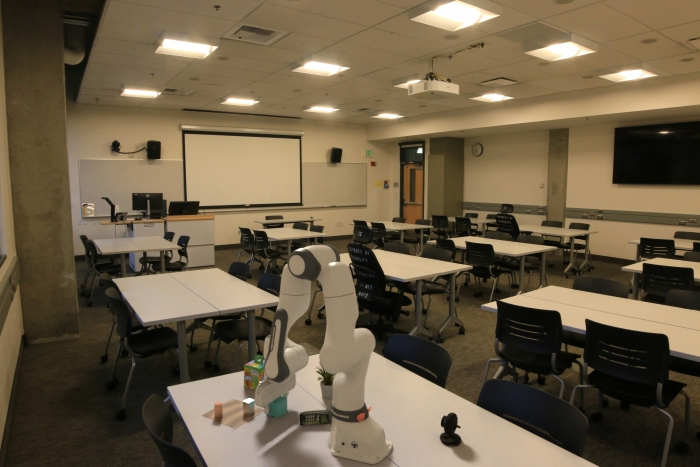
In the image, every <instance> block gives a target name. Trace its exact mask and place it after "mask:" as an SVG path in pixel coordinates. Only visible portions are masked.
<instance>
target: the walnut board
mask: <svg viewBox="0 0 700 467" xmlns="http://www.w3.org/2000/svg"><path fill="white" fill-rule="evenodd" d="M222 408H223V416H222V417H221V418H215V414H214V408H213V409H211V410H209V411H208V412H205V413H204V414H202V415H201V416H202V417H205V418H207V419H210V420H212V421H214V422H217V423H219V424H222V425H224V426H227V427H229V428H232V429H235V430H236V429H238V428H239V427H240V426H243V425H244V424H246V423H247V422H249V421H251V420H252V419H254V418H255V417H257V416H259V415H260V414H262V413H263V412H264V413H265V409H264V408H262V407H259V406H256V405H254V413H252V414H251V415H246V414H243V401H241V400H239V399H236V398H231V399H230V400H228V401H225V402H224V403H222Z"/></svg>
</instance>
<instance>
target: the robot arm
mask: <svg viewBox="0 0 700 467" xmlns="http://www.w3.org/2000/svg"><path fill="white" fill-rule="evenodd" d="M280 278H281V279H280V288H279V289H280V290H279V301H278V305H277V307H276V310H275V312H274V314H273V318H272V322H271V328H270V334H268V335H267V336H266V337H265V339H264V343H263V344H264V345H263V357H264V359H263V360H265V362H264V380H263V381H261V382H260V383H259V384H258V386H257V387H256V390H255V392H254V406H255V407H258V408H262V409H264V410H265V411H264V414H266V415H268V414H269V413H270V412H271V411H270V410H271V409H270V408H268V406H269V403H271V402H272V401H274V400H276V399H277V398H279V397H281V396H283V397H286V398H287V399H288V396H289V394H290V393H289V392H290V391H292V390H294V389H295V387H296V382H297V379H296V378H297V377H296V375H297V374H296V373H298V372H299V371H301V370H303V369H304V368H305V367H307V365H308V363H309V357H310V356H309V353H308V351H307V349H306V348H305V346H303V345H302V344H299V343H298V344H297V343H296V342H294V341H292V340H291V339H290V338H289V337H288V335H289V332H290V329H291V327H292V326H293V325H294V324H295V323H296V321H298V319H300V318H301V317H302V316H303V315H304V314H305V313H306V312H307V311H308V309H309V307H310V302H311V291H312V290H311V289H312V287H311V284H312V282H315V281H316V280H317V281H319V283H320V284H321V287H322V288H321V289H322V293H323V300H324V306H325V314H326V327H325V328H326V329H325V336H324V340H323V341H324V342H323V345H322V347H321V349H320V351H319V354H318V355H319V356H318V358H319V362H320V363H319V365H320V364H321V365H320V367H321V366H322V367H323V369H324V370H325V372H328V373H330V374H336V375H335V378H334V380H333V398H332V402H331V408H330V410H331V414H332V423H331V427H330V433H329V436H328V441H327V443H328V446H329V447H330V449H331V455H332V456H335V457H339V458H344V459H349V460H352V461H356V462H361V463H365V464H369V465H370V464H371V465H376V464H378V463H380V462H382V461H383V460H384V459H386V458H387V457H388V456H389V454H390V453H391V452H392V449H393V442H392V441H391V440H389V439H387V437H386V433H385V429H384V428H383V426H382V425H380V424H379V423H378V422H377V420H376V419H374V417H372V416H371V415H370V412H371V410H372V409H371V408H372V406H369V407H367V404H366V402H365V387H366V386H365V385H366V377H367V373H368V368H369V365H370V360H371V357H372V354H373V352H374V350H375V347H376V338H375V335H374V334H373V332H372V331H371V330H369V329H368V328H366V327H365V328H364V327H358V328H356V324H357V320H358V318H359V313H360V312H359V304H358V299H357V293H356V288H355V283H354V279H353V276H352V272H351V269H350V267H349V265H347V264H346V263H345V262H341V254H340V252H339V250H338V248H336V247H335V246H333V245H331V244H327V243H325V244H324V243H323V244H317V245H315V244H313V245H308V246H305V247H300V248H297V249H295V250H294V251H292V252H291V253H290V254H289V256H288V258H287V263H286V264H285V265H284V267H283V270H282V273H281V277H280ZM322 367H321V368H322ZM323 369H322V370H323Z"/></svg>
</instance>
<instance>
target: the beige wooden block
mask: <svg viewBox="0 0 700 467" xmlns="http://www.w3.org/2000/svg"><path fill="white" fill-rule="evenodd" d="M242 402H243V414H246V415H251V414H252V413H254V406H255V399H253V398H249V397H248V398H247V399H245V400H243V401H242Z"/></svg>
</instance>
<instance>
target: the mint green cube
mask: <svg viewBox="0 0 700 467" xmlns="http://www.w3.org/2000/svg"><path fill="white" fill-rule="evenodd" d="M268 408H270V409H271V410H270V411H271V412H270V413H269V414H267V415H268V416H272V417H274V418H276V419H278V418H280V417H281V416H283V415H284V414H286V413H287V412H288V397H287V398H286V397H283V395H282V396H281V397H279V398H277V399H276V400H274V401H272V402H271V403H269V406H268Z"/></svg>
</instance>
